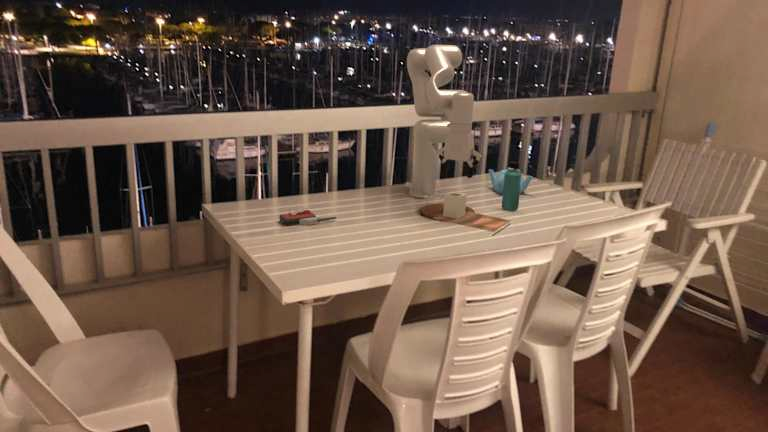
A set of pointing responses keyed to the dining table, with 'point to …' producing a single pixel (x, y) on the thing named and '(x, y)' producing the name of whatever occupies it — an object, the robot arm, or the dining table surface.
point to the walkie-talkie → (301, 218)
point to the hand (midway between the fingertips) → (457, 175)
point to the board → (477, 221)
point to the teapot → (499, 181)
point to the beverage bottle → (511, 188)
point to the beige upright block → (454, 205)
